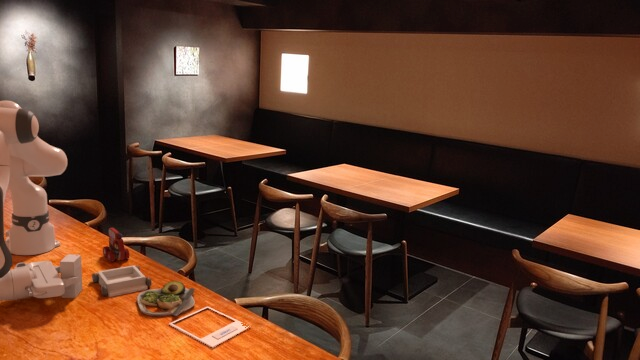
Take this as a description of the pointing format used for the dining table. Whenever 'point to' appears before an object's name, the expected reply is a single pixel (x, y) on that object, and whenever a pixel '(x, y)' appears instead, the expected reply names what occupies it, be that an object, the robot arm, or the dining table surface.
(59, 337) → the dining table surface
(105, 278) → the chassis
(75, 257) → the skincare box
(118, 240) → the toy fire truck
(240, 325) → the photo frame
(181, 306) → the avocado toast plate
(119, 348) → the dining table surface
